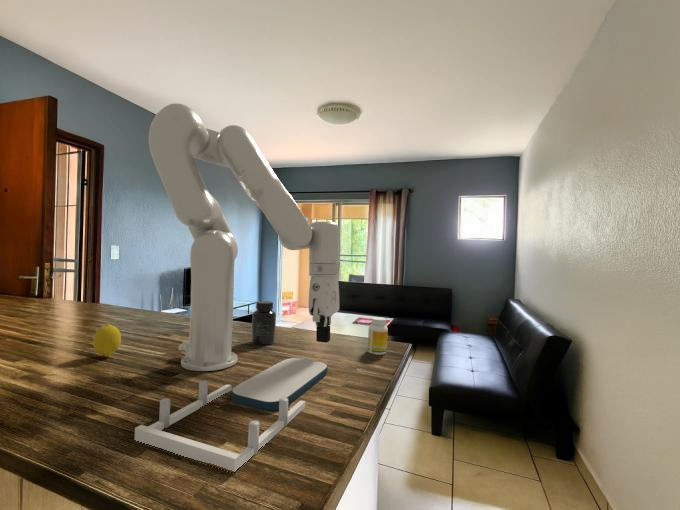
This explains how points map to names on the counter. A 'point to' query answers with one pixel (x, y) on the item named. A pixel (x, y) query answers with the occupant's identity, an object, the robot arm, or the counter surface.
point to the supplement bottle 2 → (377, 336)
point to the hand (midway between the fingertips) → (323, 341)
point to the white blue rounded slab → (279, 383)
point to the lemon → (107, 340)
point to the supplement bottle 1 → (263, 324)
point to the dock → (204, 451)
